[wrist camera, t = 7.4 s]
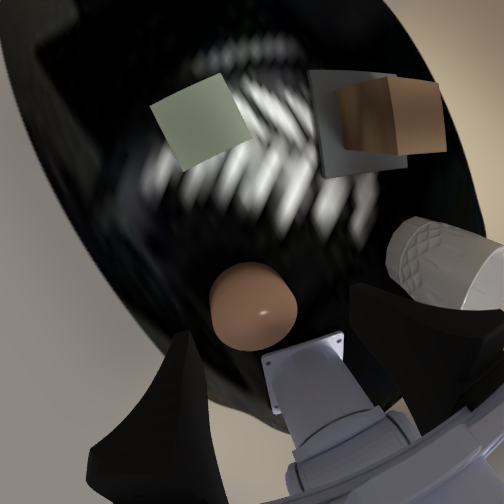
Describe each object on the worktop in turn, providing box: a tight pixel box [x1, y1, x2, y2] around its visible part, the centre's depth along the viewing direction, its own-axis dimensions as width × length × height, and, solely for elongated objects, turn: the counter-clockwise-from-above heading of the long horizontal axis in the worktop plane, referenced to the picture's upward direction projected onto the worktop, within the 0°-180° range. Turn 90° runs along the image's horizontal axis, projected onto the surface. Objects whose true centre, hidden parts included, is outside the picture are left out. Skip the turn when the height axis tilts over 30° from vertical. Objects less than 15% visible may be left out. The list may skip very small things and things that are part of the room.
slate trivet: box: [307, 70, 408, 179], centre depth 19 cm, size 8×8×1 cm
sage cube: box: [150, 73, 252, 172], centre depth 15 cm, size 4×4×4 cm
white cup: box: [385, 216, 504, 310], centre depth 20 cm, size 8×8×10 cm
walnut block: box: [336, 76, 447, 156], centre depth 16 cm, size 4×4×6 cm
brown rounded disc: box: [209, 262, 297, 351], centre depth 21 cm, size 6×6×3 cm
